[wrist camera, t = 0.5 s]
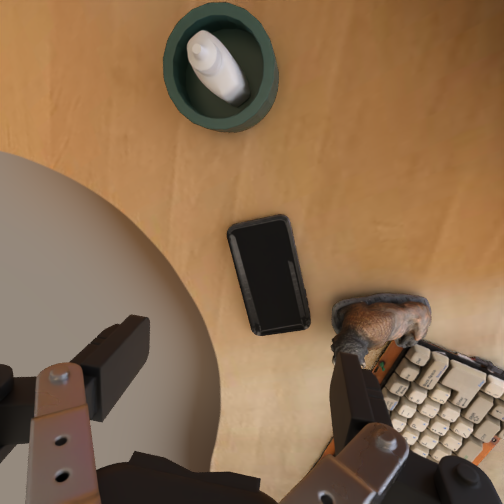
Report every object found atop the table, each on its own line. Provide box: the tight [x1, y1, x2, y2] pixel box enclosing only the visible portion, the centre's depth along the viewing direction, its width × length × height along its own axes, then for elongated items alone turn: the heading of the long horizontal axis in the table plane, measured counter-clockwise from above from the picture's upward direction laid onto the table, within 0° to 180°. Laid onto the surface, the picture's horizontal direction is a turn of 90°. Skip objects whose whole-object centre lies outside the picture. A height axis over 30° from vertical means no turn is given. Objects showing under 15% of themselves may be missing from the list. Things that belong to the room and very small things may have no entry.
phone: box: [227, 214, 311, 336], centre depth 42 cm, size 8×1×15 cm
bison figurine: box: [331, 293, 431, 368], centre depth 38 cm, size 12×7×10 cm, turn 100°
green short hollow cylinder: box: [163, 2, 279, 133], centre depth 34 cm, size 11×11×6 cm
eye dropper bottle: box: [187, 30, 250, 107], centre depth 31 cm, size 4×6×12 cm
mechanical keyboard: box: [313, 339, 504, 468], centre depth 47 cm, size 38×19×3 cm, turn 159°
